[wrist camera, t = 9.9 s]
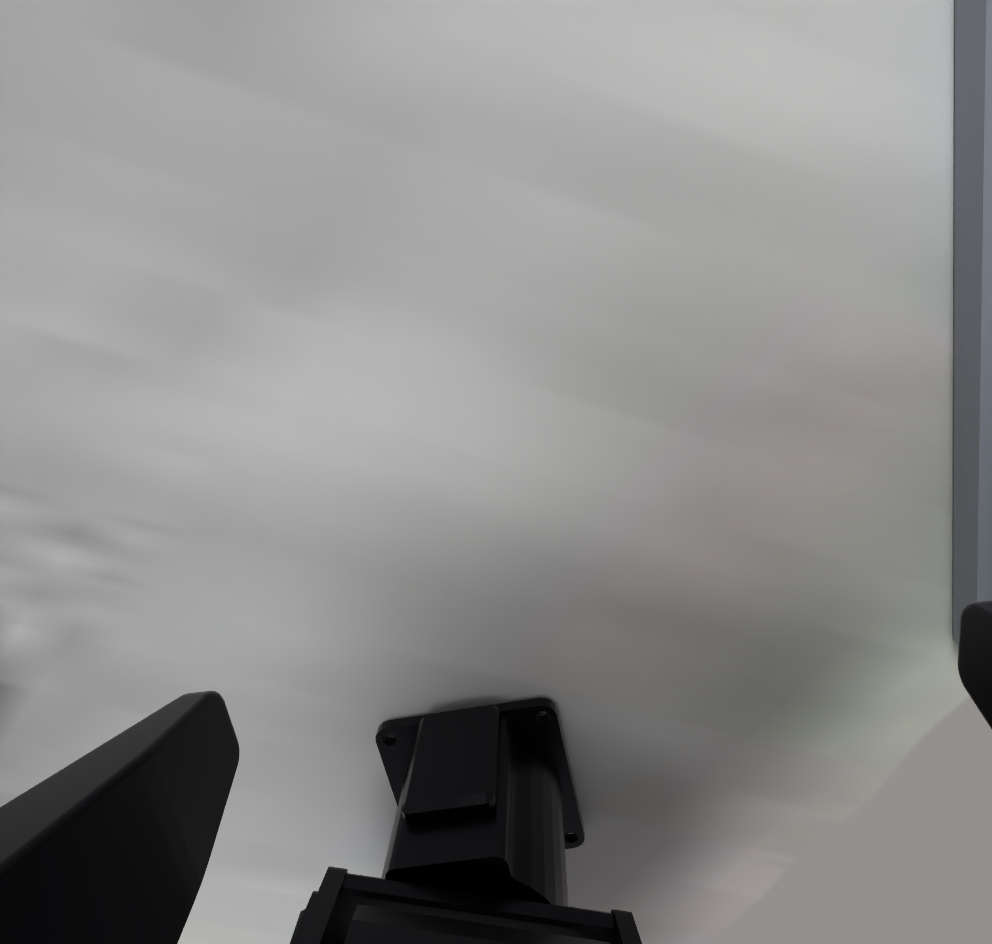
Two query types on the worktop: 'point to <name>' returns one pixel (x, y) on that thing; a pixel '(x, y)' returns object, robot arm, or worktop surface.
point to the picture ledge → (972, 307)
